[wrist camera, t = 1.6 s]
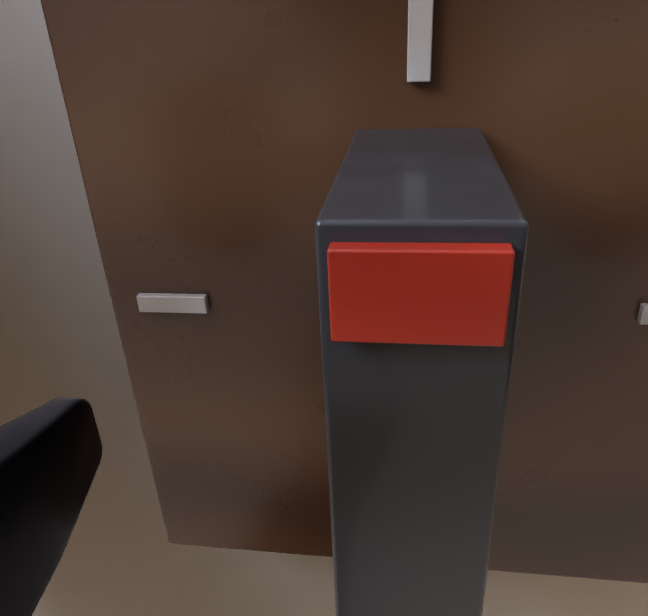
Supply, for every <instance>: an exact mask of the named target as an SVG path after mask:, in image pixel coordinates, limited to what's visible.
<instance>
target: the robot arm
mask: <svg viewBox="0 0 648 616" xmlns="http://www.w3.org/2000/svg"><path fill="white" fill-rule="evenodd" d="M101 456H102V443H101V439H100V435H99V432H98V428H97V425H96V421H95V418H94V414H93V410H92V407H91V405H90V404H89V402H88V401H87V400H84V399H80V398H56V399H54V400H52V401H50V402H48V403H46V404H44V405H42V406H40V407H38V408H36V409H34V410H32V411H30V412H28V413H26V414H24V415H22V416H20V417H18V418H16V419H14V420H12V421H10V422H8V423H6V424H4V425H2V426H0V616H32V614H33V612H34V610H35V608H36V606H37V604H38V602H39V600H40V598H41V597H42V595H43V593H44V591H45V589H46V587H47V585H48V583H49V581H50V579H51V577H52V575H53V573H54V571H55V569H56V567H57V565H58V563H59V561H60V559H61V557H62V555H63V552H64V550H65V548H66V546H67V543H68V541H69V538H70V536H71V533H72V531H73V528H74V526H75V523H76V521H77V518H78V516H79V513H80V511H81V508H82V506H83V503H84V501H85V499H86V496H87V494H88V491H89V489H90V486H91V484H92V481H93V479H94V476H95V474H96V471H97V469H98V466H99V464H100V461H101Z"/></svg>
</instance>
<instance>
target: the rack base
mask: <svg viewBox="0 0 648 616" xmlns="http://www.w3.org/2000/svg"><path fill="white" fill-rule="evenodd" d="M41 4H42V8H43V13H44V17H45V21H46V25H47V30H48V34H49V38H50V42H51V46H52V51H53V55H54V59H55V63H56V68H57V72H58V76H59V80H60V84H61V89H62V93H63V97H64V101H65V105H66V110H67V114H68V118H69V122H70V127H71V131H72V135H73V139H74V143H75V148H76V152H77V156H78V160H79V165H80V169H81V173H82V177H83V181H84V186H85V190H86V194H87V198H88V202H89V207H90V211H91V215H92V219H93V224H94V228H95V232H96V236H97V240H98V245H99V249H100V253H101V257H102V262H103V266H104V270H105V274H106V278H107V283H108V287H109V291H110V295H111V299H112V304H113V308H114V312H115V316H116V321H117V325H118V329H119V333H120V337H121V342H122V346H123V350H124V354H125V359H126V363H127V367H128V371H129V375H130V380H131V384H132V388H133V392H134V397H135V401H136V405H137V409H138V413H139V418H140V422H141V426H142V430H143V434H144V439H145V443H146V447H147V451H148V456H149V460H150V464H151V468H152V472H153V477H154V481H155V485H156V489H157V494H158V498H159V502H160V506H161V510H162V515H163V519H164V523H165V527H166V531H167V536H168V540H169V543H171V544H182V545H194V546H206V547H218V548H230V549H242V550H254V551H267V552H279V553H291V554H303V555H315V556H327V557H333V550H332V532H331V514H330V496H329V478H328V460H327V442H326V423H325V405H324V387H323V369H322V351H321V333H320V315H319V296H318V278H317V260H316V242H315V223H316V220H317V218H318V216H319V213H320V211H321V209H322V207H323V204H324V202H325V200H326V198H327V195H328V193H329V191H330V189H331V186H332V184H333V182H334V180H335V177H336V175H337V173H338V171H339V168H340V166H341V164H342V162H343V159H344V157H345V155H346V152H347V150H348V148H349V146H350V143H351V141H352V139H353V137H354V134H355V132H356V131H357V130H374V129H424V128H474V127H478V128H480V129H481V130H482V132H483V134H484V136H485V138H486V140H487V142H488V144H489V146H490V148H491V150H492V152H493V154H494V156H495V158H496V160H497V162H498V164H499V166H500V168H501V170H502V172H503V174H504V176H505V177H506V179H507V181H508V183H509V185H510V187H511V189H512V191H513V193H514V195H515V197H516V199H517V201H518V203H519V205H520V207H521V209H522V211H523V213H524V215H525V217H526V219H527V221H528V224H529V232H528V241H527V249H526V257H525V265H524V273H523V282H522V290H521V298H520V306H519V314H518V323H517V331H516V339H515V347H514V355H513V364H512V372H511V380H510V388H509V396H508V405H507V413H506V421H505V429H504V437H503V446H502V454H501V462H500V470H499V478H498V487H497V495H496V503H495V511H494V519H493V528H492V536H491V544H490V552H489V560H488V569H487V570H495V571H507V572H519V573H531V574H543V575H555V576H567V577H579V578H591V579H603V580H615V581H627V582H639V583H648V0H41Z"/></svg>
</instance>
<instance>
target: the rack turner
mask: <svg viewBox="0 0 648 616" xmlns="http://www.w3.org/2000/svg"><path fill="white" fill-rule="evenodd" d="M528 232H529V224H528V221H527V219H526V217H525V215H524V213H523V211H522V209H521V207H520V205H519V203H518V201H517V199H516V197H515V195H514V193H513V191H512V189H511V187H510V185H509V183H508V181H507V179H506V177H505V176H504V174H503V172H502V170H501V168H500V166H499V164H498V162H497V160H496V158H495V156H494V154H493V152H492V150H491V148H490V146H489V144H488V142H487V140H486V138H485V136H484V134H483V132H482V130H481V129H480V128H478V127H474V128H424V129H374V130H357V131H356V132H355V134H354V137H353V139H352V141H351V143H350V146H349V148H348V150H347V152H346V155H345V157H344V159H343V162H342V164H341V166H340V168H339V171H338V173H337V175H336V177H335V180H334V182H333V184H332V186H331V189H330V191H329V193H328V195H327V198H326V200H325V202H324V204H323V207H322V209H321V211H320V213H319V216H318V218H317V220H316V223H315V242H316V260H317V278H318V296H319V315H320V333H321V351H322V369H323V387H324V405H325V423H326V442H327V460H328V478H329V496H330V514H331V532H332V550H333V568H334V587H335V605H336V616H482V610H483V601H484V593H485V585H486V577H487V569H488V560H489V552H490V544H491V536H492V528H493V519H494V511H495V503H496V495H497V487H498V478H499V470H500V462H501V454H502V446H503V437H504V429H505V421H506V413H507V405H508V396H509V388H510V380H511V372H512V364H513V355H514V347H515V339H516V331H517V323H518V314H519V306H520V298H521V290H522V282H523V273H524V265H525V257H526V249H527V241H528Z"/></svg>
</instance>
